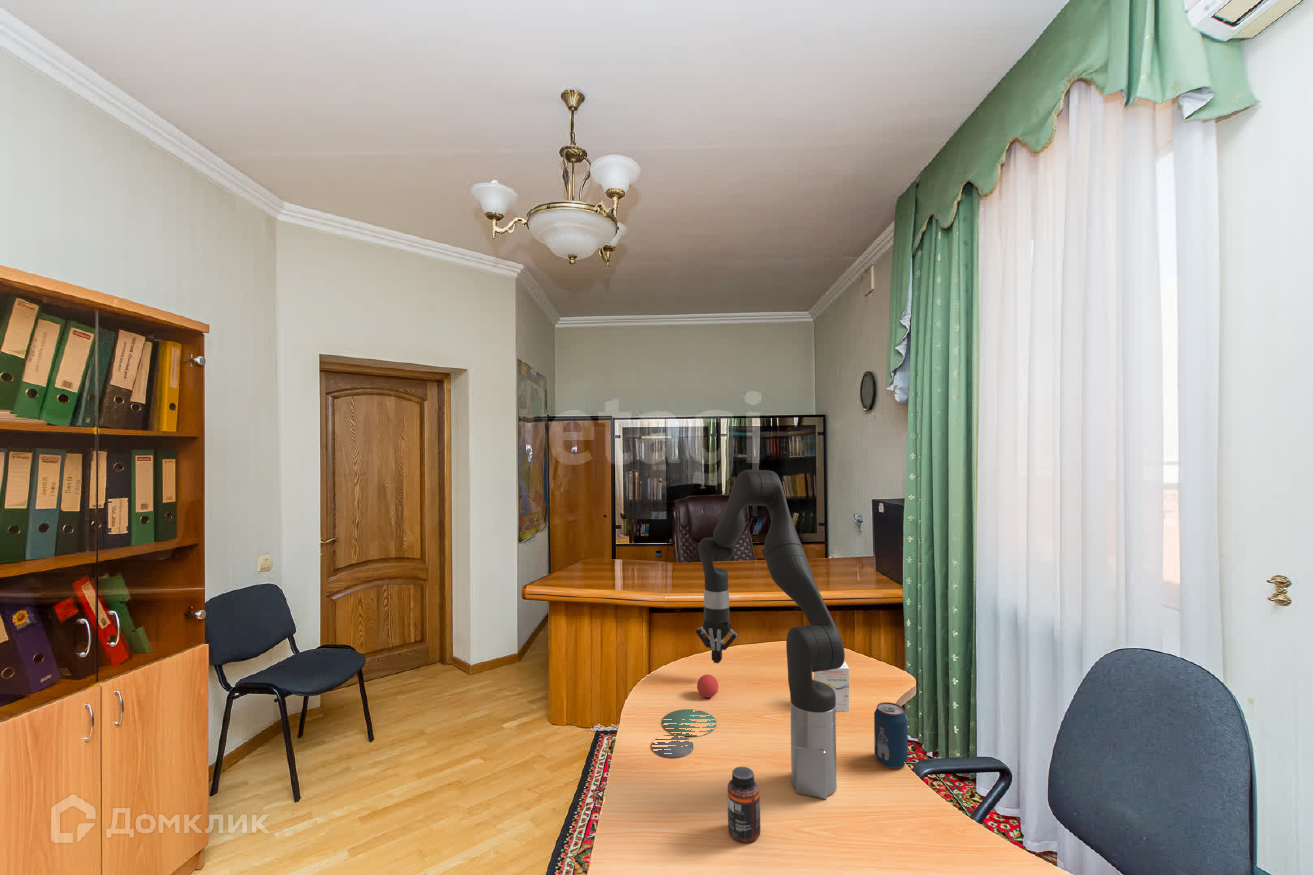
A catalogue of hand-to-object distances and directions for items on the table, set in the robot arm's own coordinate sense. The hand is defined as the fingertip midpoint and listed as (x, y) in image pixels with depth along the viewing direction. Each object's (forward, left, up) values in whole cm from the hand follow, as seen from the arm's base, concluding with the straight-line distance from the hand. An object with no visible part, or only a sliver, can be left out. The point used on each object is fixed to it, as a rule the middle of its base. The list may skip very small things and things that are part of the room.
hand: (717, 662), depth 172 cm
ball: (-10, 0, -3) cm, 10 cm away
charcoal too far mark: (-38, 0, -6) cm, 38 cm away
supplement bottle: (-61, -23, -6) cm, 65 cm away
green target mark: (-26, 0, -6) cm, 26 cm away
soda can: (-26, -48, -6) cm, 55 cm away
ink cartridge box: (-4, -33, -6) cm, 34 cm away
